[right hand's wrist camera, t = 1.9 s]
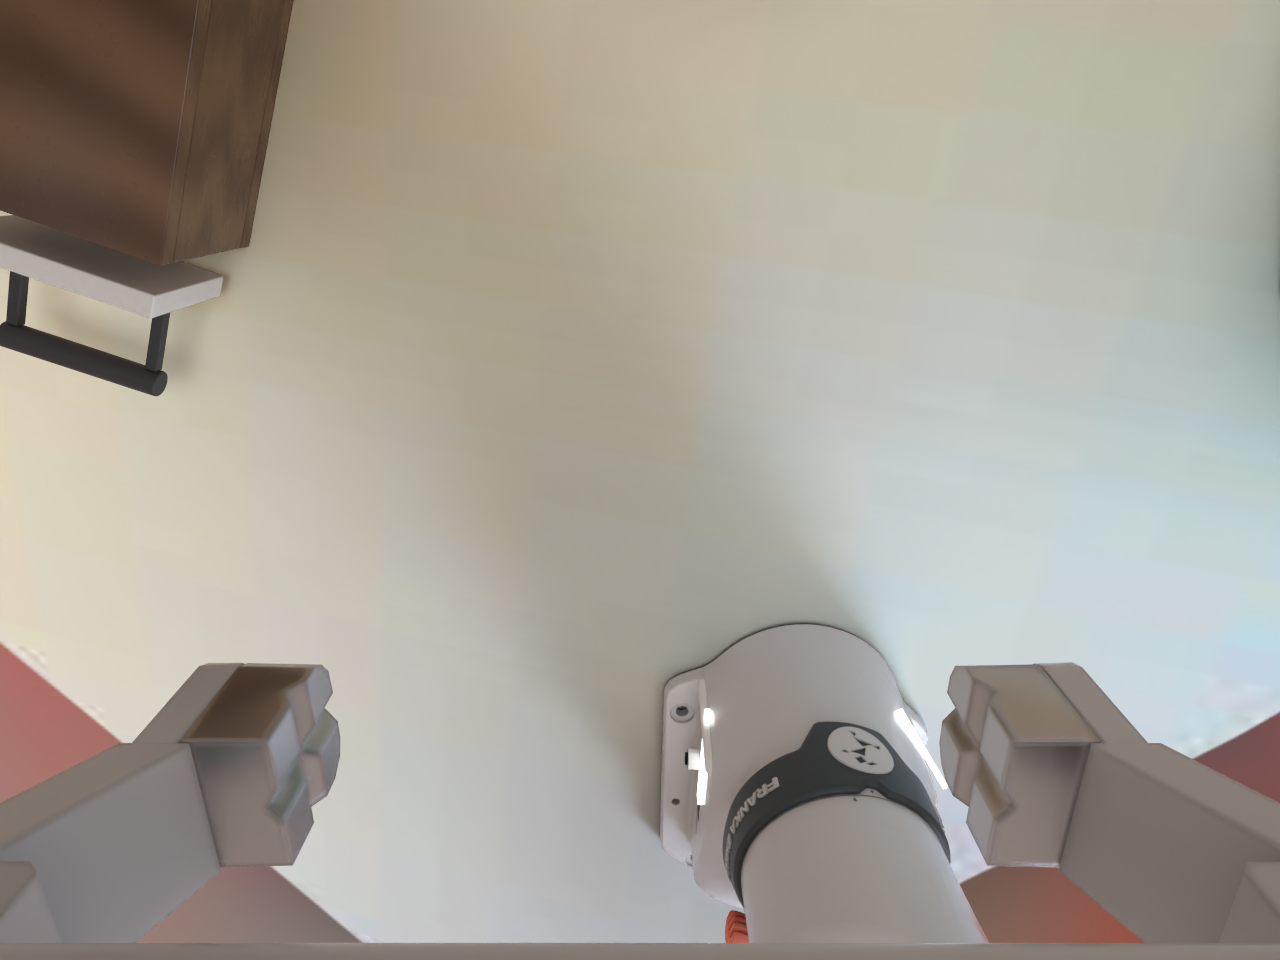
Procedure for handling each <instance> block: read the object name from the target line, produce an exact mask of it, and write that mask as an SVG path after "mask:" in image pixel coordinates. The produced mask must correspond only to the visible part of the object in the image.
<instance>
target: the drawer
mask: <svg viewBox="0 0 1280 960" xmlns="http://www.w3.org/2000/svg"><path fill="white" fill-rule="evenodd" d="M0 268H3V269H6V270H9V271H10V280H9V293H8V306H7V319H6V321H5V322H3V323H2V324H1V325H0V346H3V347H6V348H9V349H12V350H15V351H18V352H21V353H24V354H27V355H30V356H33V357H36V358H39V359H42V360H46V361H49V362H52V363H55V364H58V365H61V366H64V367H67V368H70V369H73V370H76V371H79V372H82V373H85V374H88V375H92V376H95V377H98V378H101V379H104V380H107V381H110V382H113V383H116V384H119V385H122V386H125V387H128V388H131V389H135V390H138V391H141V392H144V393H147V394H150V395H153V396H159V395H160V394H161V393H162V392H163V391H164V389H165V387H166V384H167V374H166V373H165V372H164V371H161V369H162V363H163V357H164V350H165V343H166V337H167V330H168V324H169V317H170V312H172V311H175V310H179V309H182V308H185V307H188V306H191V305H194V304H197V303H200V302H203V301H206V300H209V299H212V298H215V297H218V296H220V295H221V289H222V283H223V276H222V275H219V274H216V273H213V272H210V271H207V270H204V269H202V268H199V267H196V266H193V265H190V264H187V263H184V262H181V261H179V262H174V263H171V264H166V265H162V266H160V265H157V264H154V263H151V262H148V261H146V260H143V259H140V258H137V257H134V256H131V255H128V254H125V253H122V252H120V251H117V250H114V249H111V248H108V247H105V246H102V245H99V244H96V243H94V242H91V241H88V240H85V239H82V238H79V237H76V236H73V235H70V234H68V233H65V232H62V231H59V230H56V229H53V228H50V227H47V226H44V225H41V224H39V223H36V222H33V221H30V220H27V219H24V218H21V217H18V216H15V215H10V216H0ZM29 277H30V278H33V279H36V280H39V281H41V282H44V283H47V284H50V285H53V286H56V287H59V288H62V289H65V290H68V291H71V292H74V293H77V294H80V295H83V296H86V297H89V298H92V299H95V300H98V301H101V302H104V303H107V304H110V305H113V306H116V307H119V308H122V309H124V310H127V311H130V312H133V313H136V314H139V315H142V316H145V317H148V318H152V324H151V331H150V338H149V345H148V352H147V359H146V366H145V365H142V364H139V363H136V362H133V361H130V360H127V359H124V358H121V357H118V356H115V355H112V354H109V353H106V352H103V351H100V350H97V349H94V348H91V347H88V346H85V345H82V344H79V343H76V342H73V341H70V340H67V339H64V338H61V337H58V336H55V335H52V334H48V333H45V332H42V331H39V330H36V329H33V328H30V327H27V326H24V324H25V317H26V305H27V294H28V282H29Z"/></svg>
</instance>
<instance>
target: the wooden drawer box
mask: <svg viewBox="0 0 1280 960" xmlns="http://www.w3.org/2000/svg"><path fill="white" fill-rule="evenodd" d="M292 3H293V0H0V210H1V211H4V212H7V213H10V214H13V215H15V216H18V217H21V218H24V219H27V220H30V221H33V222H36V223H39V224H41V225H44V226H47V227H50V228H53V229H56V230H59V231H62V232H65V233H68V234H70V235H73V236H76V237H79V238H82V239H85V240H88V241H91V242H94V243H96V244H99V245H102V246H105V247H108V248H111V249H114V250H117V251H120V252H122V253H125V254H128V255H131V256H134V257H137V258H140V259H143V260H146V261H148V262H151V263H154V264H157V265H160V266H162V265H166V264H171V263H174V262H179V261H183V260H188V259H192V258H197V257H201V256H205V255H210V254H214V253H219V252H223V251H228V250H232V249H237V248H243V247H247V246H249V241H250V236H251V230H252V225H253V219H254V214H255V208H256V203H257V197H258V192H259V186H260V180H261V175H262V169H263V164H264V158H265V153H266V147H267V142H268V136H269V131H270V125H271V120H272V114H273V108H274V103H275V97H276V92H277V86H278V81H279V75H280V70H281V64H282V59H283V53H284V48H285V42H286V37H287V31H288V25H289V20H290V14H291V9H292Z"/></svg>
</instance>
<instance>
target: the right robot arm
mask: <svg viewBox="0 0 1280 960" xmlns="http://www.w3.org/2000/svg"><path fill="white" fill-rule="evenodd" d="M332 693H333V691H332V686H331V682H330V677H329V672H328V670H327V669H326V668H324V667H323V666H322V665H308V664H261V663H247V664H243V663H208V664H205V665H202V666H199V667H198V668H197V669H196V670H195V671H194V673H193V674H192V675H191V676H190V677H189V678H188V679H187V681H186V682H185V683H184V684H183V685H182V686H181V687H180V689H179V690H178V691H177V692H176V693H175V694H174V695H173V697H172V698H171V699H170V700H169V701H168V702H167V703H166V705H165V706H164V707H163V708H162V709H161V710H160V712H159V713H158V714H157V715H156V716H155V717H154V718H153V720H152V721H151V722H150V723H149V724H148V725H147V726H146V728H145V729H144V730H143V731H142V732H141V733H140V734H139V736H138V737H137V738H136V739H135V740H134V741H133V742H132V743H119V744H117V745H115V746H113V747H111V748H109V749H107V750H105V751H103V752H101V753H99V754H97V755H95V756H93V757H91V758H89V759H87V760H85V761H83V762H81V763H79V764H77V765H75V766H73V767H71V768H69V769H67V770H65V771H63V772H61V773H59V774H57V775H55V776H53V777H51V778H49V779H47V780H45V781H43V782H41V783H39V784H37V785H35V786H33V787H31V788H29V789H28V790H25V791H23V792H21V793H20V794H18V795H16V796H14V797H12V798H10V799H8V800H6V801H4V802H2V803H0V960H1280V803H1278V802H1276V801H1274V800H1272V799H1270V798H1268V797H1266V796H1264V795H1262V794H1260V793H1258V792H1256V791H1254V790H1252V789H1250V788H1248V787H1246V786H1244V785H1242V784H1240V783H1238V782H1236V781H1234V780H1232V779H1230V778H1228V777H1226V776H1224V775H1222V774H1221V773H1219V772H1217V771H1215V770H1213V769H1211V768H1209V767H1207V766H1205V765H1203V764H1201V763H1199V762H1197V761H1195V760H1193V759H1191V758H1189V757H1187V756H1185V755H1183V754H1181V753H1179V752H1177V751H1175V750H1173V749H1171V748H1169V747H1167V746H1165V745H1163V744H1161V743H1147V741H1146V740H1145V739H1144V738H1143V737H1142V736H1141V734H1140V733H1139V732H1138V731H1137V730H1136V729H1135V728H1134V726H1133V725H1132V724H1131V723H1130V722H1129V721H1128V720H1127V718H1126V717H1125V716H1124V715H1123V714H1122V713H1121V712H1120V710H1119V709H1118V708H1117V707H1116V706H1115V705H1114V704H1113V702H1112V701H1111V700H1110V699H1109V698H1108V697H1107V696H1106V694H1105V693H1104V692H1103V691H1102V690H1101V689H1100V687H1099V686H1098V685H1097V684H1096V683H1095V682H1094V681H1093V679H1092V678H1091V677H1090V676H1089V675H1088V674H1087V673H1086V671H1085V670H1084V669H1083V668H1082V667H1080V666H1078V665H1076V664H1074V663H1043V664H1033V665H976V666H955V667H954V669H953V671H952V674H951V676H950V680H949V685H948V691H947V693H948V695H949V697H950V699H951V700H952V702H953V704H954V706H955V709H954V710H953V711H952V712H951V713H950V714H949V715H948V716H947V717H946V718H945V719H944V720H943V721H942V728H941V736H940V754H941V765H942V768H943V772H944V776H945V779H946V782H947V784H948V786H949V788H950V790H951V793H952V795H953V796H954V797H956V798H957V799H958V800H960V801H961V802H963V803H964V804H966V805H967V806H968V807H969V809H968V815H967V820H966V823H967V825H968V827H969V829H970V831H971V833H972V835H973V837H974V839H975V841H976V843H977V845H978V847H979V849H980V851H981V854H982V856H983V858H984V860H985V862H986V864H987V865H992V866H1028V867H1060V868H1059V871H1060V872H1061V873H1062V874H1063V875H1065V876H1066V877H1067V878H1068V879H1069V880H1070V881H1072V882H1073V883H1074V884H1075V885H1076V886H1078V887H1079V888H1080V889H1081V890H1082V891H1083V892H1085V893H1086V894H1087V895H1088V896H1089V897H1091V898H1092V899H1093V900H1094V901H1096V902H1097V903H1098V904H1099V905H1100V906H1101V907H1102V908H1104V909H1105V910H1106V911H1107V912H1108V913H1110V914H1111V915H1112V916H1113V917H1114V918H1116V919H1117V920H1118V921H1119V922H1120V923H1121V924H1123V925H1124V926H1125V927H1126V928H1127V929H1129V930H1130V931H1131V932H1132V933H1133V934H1134V935H1136V936H1137V937H1138V938H1139V939H1141V940H1142V941H1143V942H1144V943H989V942H988V940H987V938H986V936H985V934H984V932H983V930H982V928H981V927H980V925H979V923H978V921H977V919H976V917H975V915H974V913H973V911H972V909H971V907H970V905H969V903H968V901H967V899H966V897H965V895H964V893H963V891H962V889H961V887H960V885H959V883H958V881H957V879H956V876H955V874H954V872H953V870H952V868H951V866H950V850H949V845H948V841H947V839H946V836H945V831H944V826H943V825H942V820H941V818H940V815H939V813H938V811H937V809H938V797H937V794H936V790H935V787H934V784H933V781H932V778H931V775H930V772H929V769H928V766H927V763H926V760H927V762H928V764H929V766H930V767H931V769H932V771H933V772H934V774H935V776H936V777H937V779H938V781H939V782H940V784H941V786H942V787H943V789H945V788H947V785H946V783H945V781H944V779H943V777H942V776H941V774H940V772H939V771H938V769H937V767H936V765H935V764H934V762H933V760H932V759H931V757H930V755H929V754H928V752H927V750H926V748H925V745H926V743H927V741H928V734H927V731H926V728H925V725H924V723H923V721H922V720H921V718H920V717H919V716H918V715H917V714H916V713H915V712H914V711H913V710H912V709H911V708H910V707H909V706H908V705H907V704H906V703H904V701H903V699H902V697H901V695H900V692H899V689H898V686H897V683H896V680H895V677H894V675H893V673H892V671H891V669H890V667H889V666H888V664H887V662H886V661H885V660H884V659H883V657H882V656H881V655H880V654H879V653H878V652H877V651H876V650H875V649H874V648H873V647H871V646H870V645H869V644H867V643H866V642H865V641H863V640H861V639H860V638H858V637H856V636H854V635H852V634H850V633H847V632H845V631H842V630H839V629H836V628H832V627H827V626H821V625H812V624H794V625H785V626H779V627H775V628H771V629H767V630H764V631H761V632H758V633H756V634H753V635H751V636H749V637H747V638H745V639H743V640H741V641H739V642H738V643H736V644H735V645H733V646H732V647H730V648H729V649H728V650H726V651H725V652H724V653H723V654H721V655H720V656H719V657H718V658H716V659H715V660H714V661H712V662H711V663H709V664H708V665H706V666H704V667H701V668H698V669H695V670H691V671H688V672H685V673H683V674H680V675H678V676H676V677H674V678H672V679H671V680H670V681H669V682H668V683H667V684H666V686H665V689H664V709H663V741H662V774H661V807H660V839H661V845H662V848H663V850H664V851H666V852H667V853H668V854H669V855H671V856H672V857H673V858H675V859H676V860H678V861H679V862H681V863H683V864H685V865H687V866H689V867H692V868H693V872H694V878H695V881H696V883H697V885H698V886H699V887H700V888H701V889H702V890H703V891H704V892H705V893H707V894H708V895H710V896H711V897H713V898H715V899H717V900H719V901H721V902H723V903H726V904H728V905H732V906H735V907H738V908H742V909H744V910H745V914H743V913H741V912H738V911H730V912H729V914H728V917H727V921H726V928H725V940H726V943H136V942H137V941H139V940H140V939H141V938H142V937H143V936H145V935H146V934H147V933H148V932H149V931H150V930H152V929H153V928H154V927H155V926H156V925H158V924H159V923H160V922H161V921H162V920H164V919H165V918H166V917H167V916H168V915H170V914H171V913H172V912H173V911H174V910H175V909H177V908H178V907H179V906H180V905H181V904H183V903H184V902H185V901H186V900H187V899H188V898H190V897H191V896H192V895H193V894H194V893H196V892H197V891H198V890H199V889H200V888H202V887H203V886H204V885H205V884H206V883H208V882H209V881H210V880H211V879H212V878H213V877H215V876H216V875H217V874H218V873H219V872H220V871H221V868H220V867H251V866H285V865H293V864H294V862H295V860H296V858H297V856H298V854H299V852H300V850H301V848H302V846H303V844H304V842H305V839H306V837H307V835H308V833H309V831H310V829H311V827H312V825H313V823H314V821H313V815H312V809H311V807H312V806H313V805H314V804H316V803H317V802H319V801H320V800H321V799H323V798H324V797H326V796H327V795H328V792H329V790H330V788H331V786H332V784H333V782H334V779H335V776H336V772H337V767H338V762H339V757H340V734H339V727H338V721H337V720H336V719H335V718H334V717H333V716H332V715H331V714H330V713H329V712H328V711H327V710H326V709H325V706H326V704H327V702H328V700H329V699H330V697H331V695H332ZM680 706H684V707H686V709H684V710H679V709H677V708H678V707H680ZM925 759H926V760H925Z"/></svg>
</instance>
